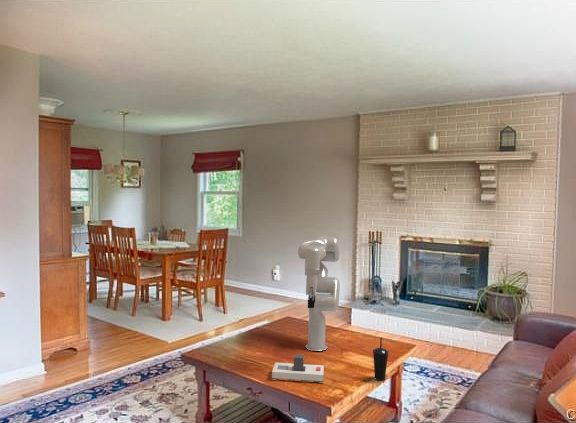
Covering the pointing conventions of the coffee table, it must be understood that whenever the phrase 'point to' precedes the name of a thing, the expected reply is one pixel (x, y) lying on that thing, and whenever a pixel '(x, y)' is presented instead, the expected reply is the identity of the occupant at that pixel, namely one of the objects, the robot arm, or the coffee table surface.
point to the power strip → (298, 372)
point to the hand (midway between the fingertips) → (311, 305)
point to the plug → (298, 362)
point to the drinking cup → (380, 362)
